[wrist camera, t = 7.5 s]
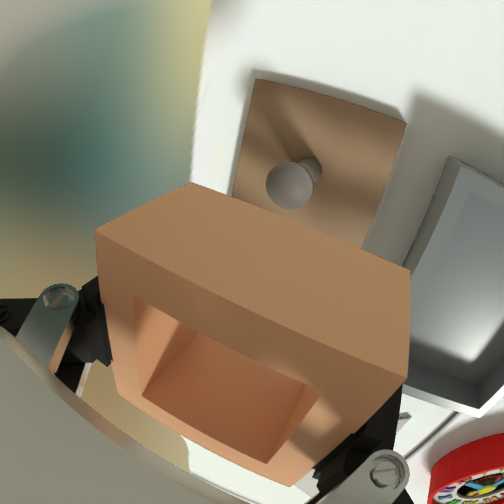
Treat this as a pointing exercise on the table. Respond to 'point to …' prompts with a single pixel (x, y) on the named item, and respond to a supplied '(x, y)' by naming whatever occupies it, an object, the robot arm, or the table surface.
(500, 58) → the table surface
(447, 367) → the tray
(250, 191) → the stake base
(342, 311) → the ring
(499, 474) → the toy clock
